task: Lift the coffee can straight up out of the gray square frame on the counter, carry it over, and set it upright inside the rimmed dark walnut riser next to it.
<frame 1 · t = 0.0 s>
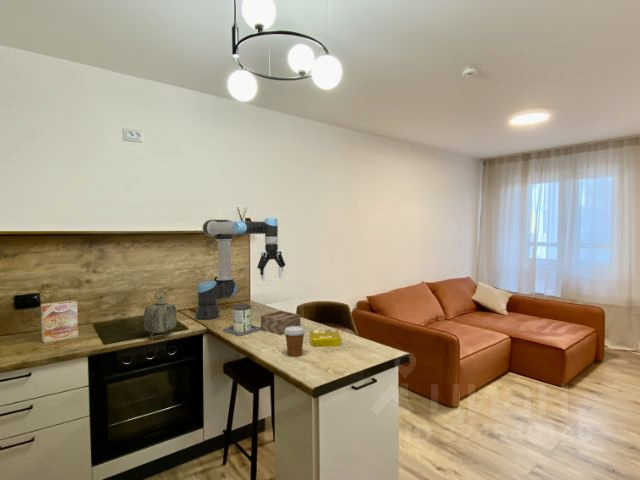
hand: (271, 279, 211), 28 cm above the countertop, tool pointing down, fingers open, 13 cm apart
gray square frame: (242, 330, 201), on the countertop
coffeecake box: (60, 339, 189), on the countertop
riser: (280, 329, 203), on the countertop
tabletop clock: (161, 337, 190), on the countertop
disposable coffee cup: (294, 354, 162), on the countertop
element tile: (325, 342, 181), on the countertop
coffee can: (242, 331, 201), resting in gray square frame
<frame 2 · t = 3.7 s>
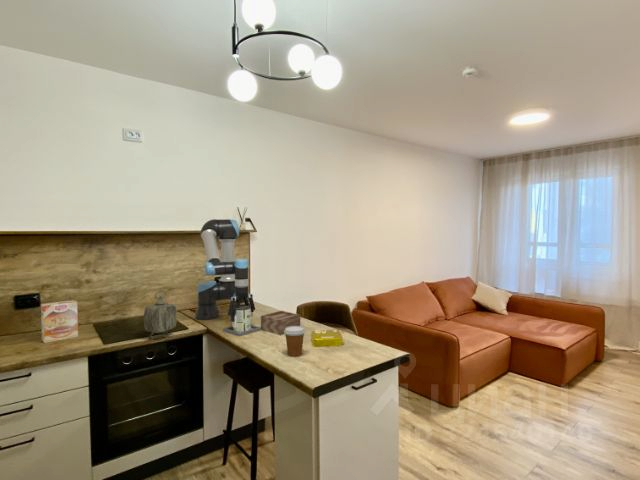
hand: (242, 325, 201), 3 cm above the countertop, tool pointing down, fingers closed on coffee can, 10 cm apart
coffee can: (242, 331, 201), resting in gray square frame, touching gripper
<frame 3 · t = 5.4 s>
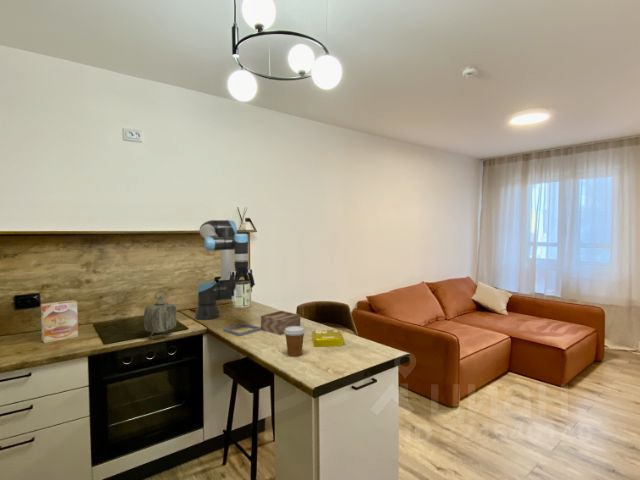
hand: (241, 299, 201), 18 cm above the countertop, tool pointing down, fingers closed on coffee can, 10 cm apart
coffee can: (241, 305, 201), point 14 cm above the countertop, touching gripper
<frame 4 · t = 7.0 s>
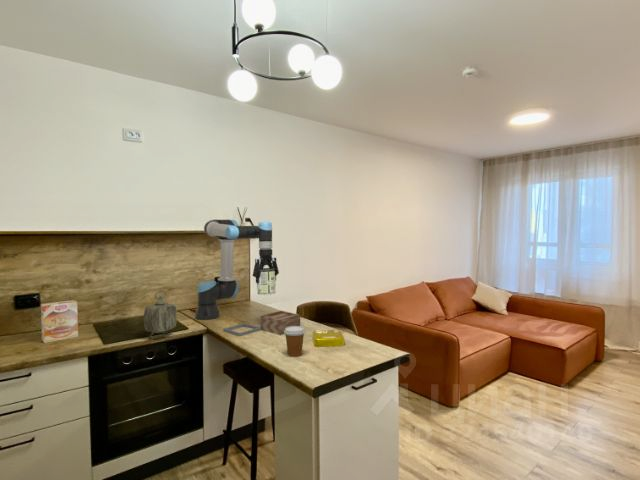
hand: (266, 287, 201), 24 cm above the countertop, tool pointing down, fingers closed on coffee can, 10 cm apart
coffee can: (266, 293, 201), point 21 cm above the countertop, touching gripper
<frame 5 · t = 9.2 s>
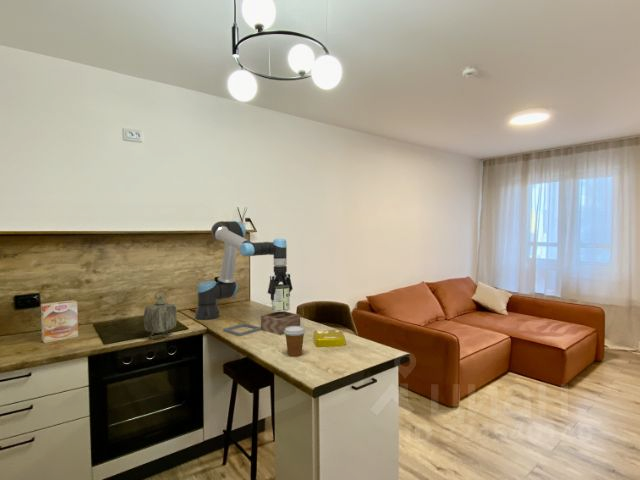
hand: (280, 304, 203), 15 cm above the countertop, tool pointing down, fingers closed on coffee can, 10 cm apart
coffee can: (280, 310, 203), point 11 cm above the countertop, touching gripper
when the fingers open (12 cm above the countertop, at t = 10.8 s): coffee can drops 1 cm, resting on riser.
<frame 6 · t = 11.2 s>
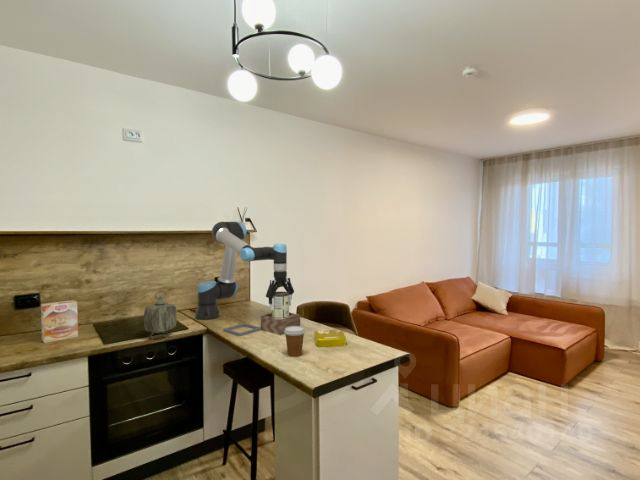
hand: (280, 307, 203), 13 cm above the countertop, tool pointing down, fingers open, 13 cm apart
coffee can: (280, 317, 203), point 7 cm above the countertop, touching riser
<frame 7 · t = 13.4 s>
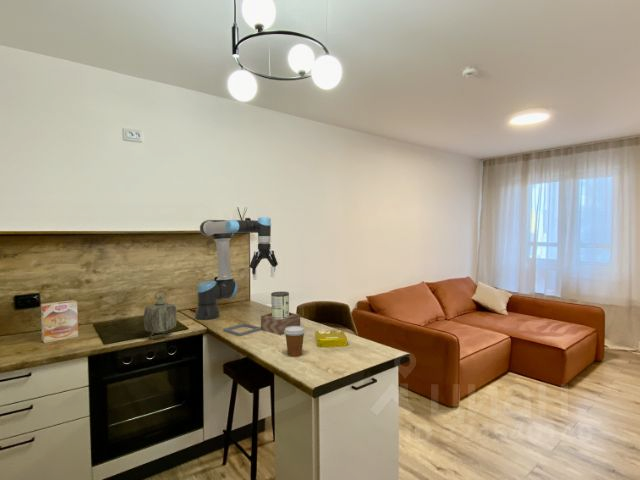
hand: (263, 278, 211), 28 cm above the countertop, tool pointing down, fingers open, 13 cm apart
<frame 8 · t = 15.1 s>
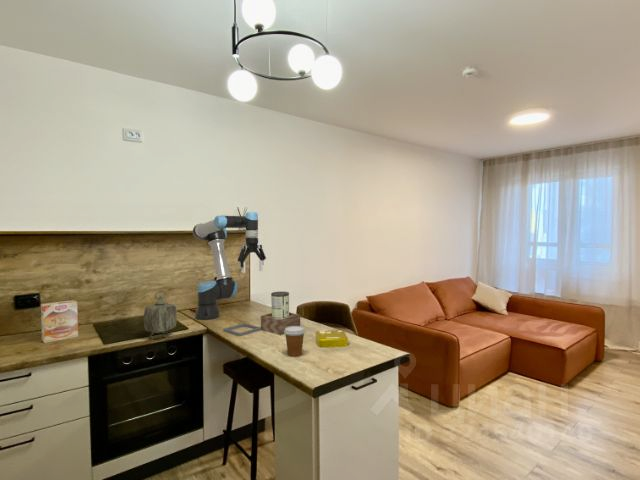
hand: (252, 271, 217), 32 cm above the countertop, tool pointing down, fingers open, 13 cm apart
at the end: coffee can inside the target area on the riser (0.2 cm from its centre), point 6.8 cm above the riser's base; coffee can tilted 0°; the gripper is holding nothing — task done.
